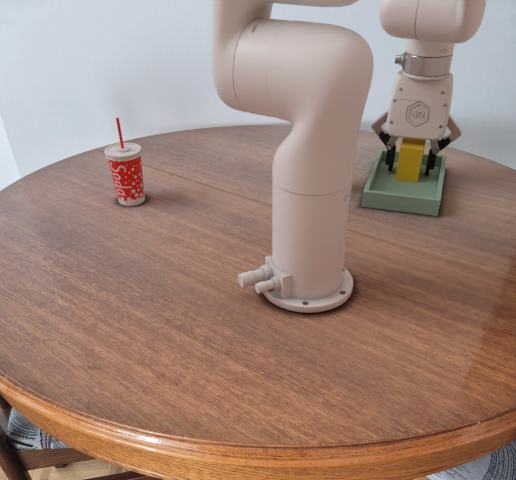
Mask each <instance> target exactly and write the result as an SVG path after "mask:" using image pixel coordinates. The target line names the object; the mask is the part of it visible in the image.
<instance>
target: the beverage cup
mask: <svg viewBox="0 0 516 480" xmlns="http://www.w3.org/2000/svg"><path fill="white" fill-rule="evenodd" d="M115 120H116V127H117V132H118V137H119V142H118V143H115V144H111V145H109V146H107V147H106V148H105V149H104V155H105V158H106V160H107V161H108V165H109V170H110V173H111V177H112V181H113V184H114V188H115V192H116V197H117V199H118V203H119V204H120V205H123V206H126V207H127V206H128V207H129V206H130V207H131V206H137V205H140V204H142V203H144V202H145V200H146V196H145V185H144V184H145V183H144V174H143V164H142V154H143V149H142V146H141V145H140V144H139V143H135V142H124V140H123V134H122V128H121V122H120V118H119V117H115Z"/></svg>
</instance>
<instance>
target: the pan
mask: <svg viewBox="0 0 516 480" xmlns="http://www.w3.org/2000/svg"><path fill="white" fill-rule="evenodd" d="M399 152H400V150H399V149H396V152H395V159H394V165H393V168H392V171H391V172H390V171H388V165H385V161H386V154H387V149H386V148H379V149H378V151H377V154H376V156H375V160H374V162H373V165H372V166H371V167H372V168H371V169H370V172H369V175H368V178H367V180H366V183H365V186H364V188H363V190H362V199H361V207H362V208H369V209H378V210H386V211H392V212H401V213H408V214H409V213H410V214H417V215H426V216H433V217H438V216H439V211H440V207H441V201H442V194H443V187H444V181H445V173H446V167H447V166H446V165H447V159H448V158H447V157H448V155H446V154H439V153H438V154H437V156H436V161H435V166H434V170H431V169H430V171H429V176H426V175H425V171H426V165H427V160H428V155H429V152H428V153H427V152H424V153H423V158H422V164H421V169H420V174H419V178H418V182H408V181H399V180H395V177H396V171H397V164H398V158H399Z"/></svg>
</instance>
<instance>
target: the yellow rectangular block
mask: <svg viewBox="0 0 516 480" xmlns="http://www.w3.org/2000/svg"><path fill="white" fill-rule="evenodd" d="M426 141H427V140H424V139H413V138H403V137H402V140H401V144H400V146H399V151H400V152H399V158H398V164H397V171H396V177H395V180H399V181H408V182H418V178H419V174H420V169H421V164H422V158H423V153H425V148H426Z"/></svg>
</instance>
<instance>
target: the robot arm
mask: <svg viewBox="0 0 516 480" xmlns="http://www.w3.org/2000/svg"><path fill="white" fill-rule="evenodd" d="M211 1H212V3H211V4H212V5H211V6H212V7H211V8H212V9H211V15H212V16H211V72H212V73H211V74H212V81H213V85H214V89H215V92H216V93H217V95H218V97H219V99H220V101H222V103H224V104H225V105H226V106H227V107H229V108H231V109H233V110H236V111H240V112H243V113H249V114H253V115H258V116H264V117H269V118H274V119H279V120H282V121H286V122H289V123H290V124H291V125H292V128H291V131H290V133H289V134H288V136H287V137H286V138H285V139H284V140H283V141H282V142H281V144H280V145H279V146H278V148H277V149H276V151H275V153H274V156H273V160H272V165H271V166H272V167H271V180H272V181H271V187H272V189H271V190H272V191H271V192H272V193H271V215H272V216H271V223H272V224H271V254H270V255H266V256H264V264H263V265H259V267H258V269H254V270H248V271H245V272H241V273H238V274H237V281H238V284H239V285H240V288H242V289H244V288H248V287H251V286H254V290H255V292H256V293H257V294H258V295H259V294H263V295H264V297H265V298H266V299H267V300H268V301H269V302H270V303H272V304H273V305H275V306H277V307H278V308H282V309H284V310H286V311H291V312H296V313H305V314H312V313H322V312H326V311H331V310H333V309H335V308H338V307H339V306H341V305H343V304H344V303H345V302H347V301H348V299H349V298H350V297H351V295H352V293H353V290H354V279H353V276H352V274H351V273H350V271H349V269H347V268H346V267H345V266H344V265H345V254H346V245H347V237H348V235H347V234H348V226H349V216H350V206H351V197H352V196H351V195H352V186H353V179H354V177H353V176H354V168H355V158H356V150H357V144H358V139H359V132H360V128H361V123H362V119H363V116H364V111H365V108H366V104H367V101H368V96H369V93H370V89H371V86H372V81H373V76H374V65H375V64H374V61H375V60H374V55H373V51H372V48H371V46H370V44H369V42H368V41H367V40H366V39H365V38H364V37H363V36H362V35H361V34H360V33H358V32H356V31H354V30H353V29H351V28H347V27H344V26H341V25H337V24H331V23H325V22H324V23H323V22H314V21H305V20H296V19H293V20H289V19H280V18H279V19H278V18H272V17H271V16H272V12H273V11H272V10H273V6H274V4H281V5H290V6H304V7H317V8H342V7H348V6H352V5H354V4H355V3H357V2H359V1H360V0H211ZM486 6H487V0H381V1H380V5H379V14H378V16H379V23H380V26H381V28H382V30H383V31H384V32H385V33H386V34H387V35H389V36H390V37H394V38H397V39H398V38H399V39H403V40H404V39H406V45H405V52H403V53H401V54H395V58H394V64H395V65H399V66H400V68H402V69H400V70H399V71H398V72H397V74H396V76H395V80H394V82H393V86H392V90H391V95H390V99H389V105H388V110H387V109H386V111H385V112H384V113H382V114H381V115H380V116H378V118H376V119H375V120H374V121H373V122H372V124H371V129H372V131H373V132H375V133H374V134H375V135H377V137H378V139H379V140H380V141H381V142H382V144H383V145H384V146H385V149H387V154H386V161H385V165H388V171H390V172H391V171H392V168H393V165H394V159H395V152H396V150H397V144H396V142H397V140H399V138H402V139H403V138H413V139H424V140H426V141H429V144H430V148H429V149H428V154H429V155H428V160H427V165H426V171H425V175H426V176H429V171H430V169H431V170H434V166H435V161H436V156H437V154H439V153H440V152H441V151H443V149H445V148H446V147H448V146H449V145H450V144H451V143H452V142H454V141H456V140H457V139H458V138H460V137H461V136H462V129H461V128H460V126H459V125H458V123H457V122H456V121H455V120H454V118H453V116H452V115H451V114H450V113H451V106H452V101H453V91H454V75H453V73H451V72H450V71H451V67H452V61H453V56H454V50H455V45H456V44H463V43H466V42H468V41H470V40H471V39H472V38H473V37H474V36H475V35H476V33H477V32H478V30H479V29H480V26H481V25H482V22H483V19H484V14H485V10H486ZM384 124H386V125H385V129H384V127H383V125H384ZM447 129H448V130H449V131H450V132H449V133H448V134H447V135H445V134H446V132H447Z"/></svg>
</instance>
